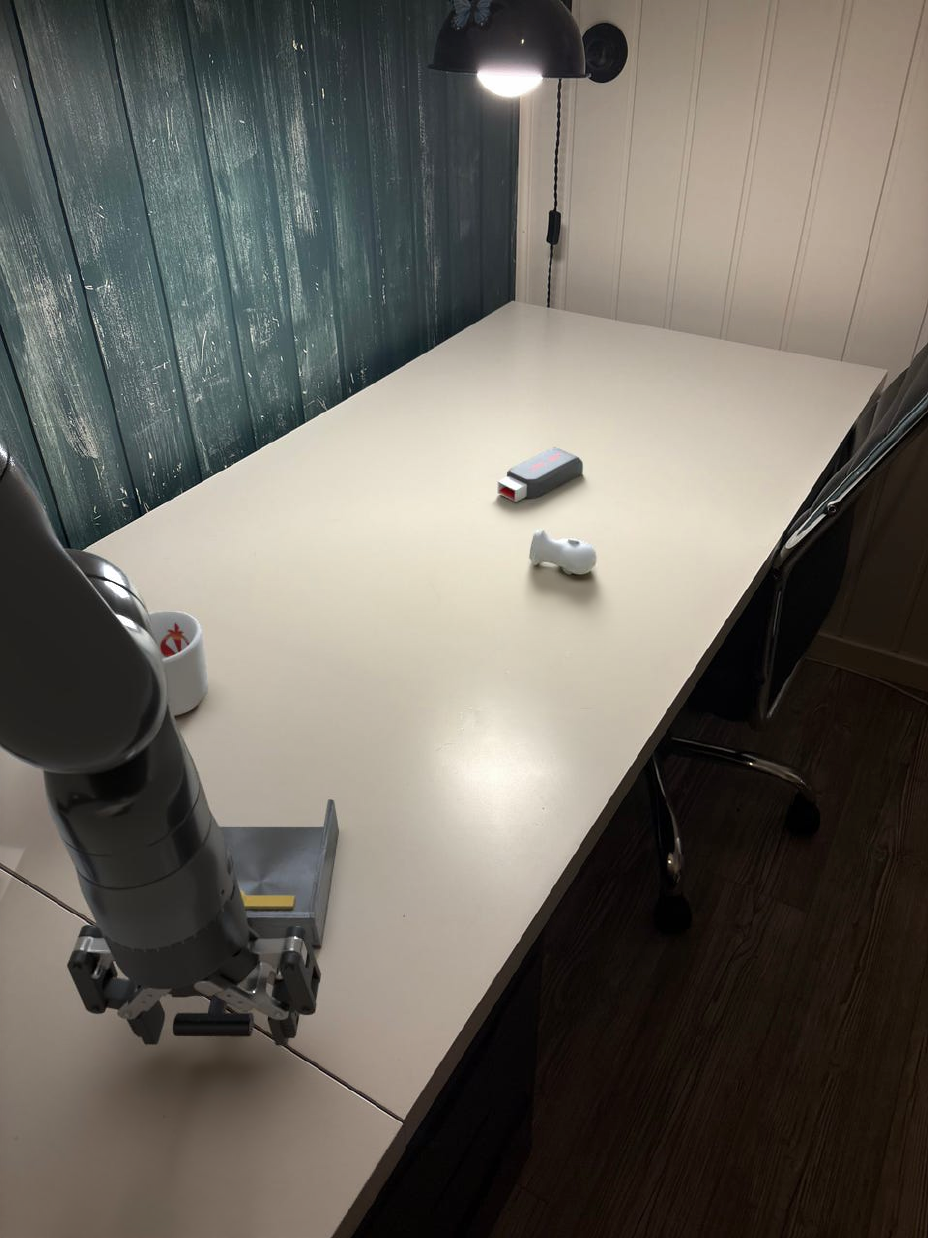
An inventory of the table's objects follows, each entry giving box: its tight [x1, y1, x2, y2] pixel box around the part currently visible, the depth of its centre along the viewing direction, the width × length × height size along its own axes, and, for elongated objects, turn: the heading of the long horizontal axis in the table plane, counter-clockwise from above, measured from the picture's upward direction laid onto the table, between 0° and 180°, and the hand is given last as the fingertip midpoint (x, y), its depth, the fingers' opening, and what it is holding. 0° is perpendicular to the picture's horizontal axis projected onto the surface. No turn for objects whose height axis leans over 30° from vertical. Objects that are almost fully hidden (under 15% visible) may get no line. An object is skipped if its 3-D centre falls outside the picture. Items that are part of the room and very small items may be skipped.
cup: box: [148, 609, 209, 717], centre depth 88 cm, size 11×8×8 cm
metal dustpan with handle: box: [172, 798, 340, 1038], centre depth 68 cm, size 11×20×5 cm, turn 179°
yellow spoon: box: [240, 890, 295, 909], centre depth 71 cm, size 6×2×1 cm, turn 89°
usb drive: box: [497, 446, 584, 503], centre depth 121 cm, size 5×12×3 cm, turn 134°
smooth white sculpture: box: [528, 528, 597, 575], centre depth 106 cm, size 4×8×5 cm
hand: (220, 1031), depth 60 cm, fingers open, 8 cm apart
